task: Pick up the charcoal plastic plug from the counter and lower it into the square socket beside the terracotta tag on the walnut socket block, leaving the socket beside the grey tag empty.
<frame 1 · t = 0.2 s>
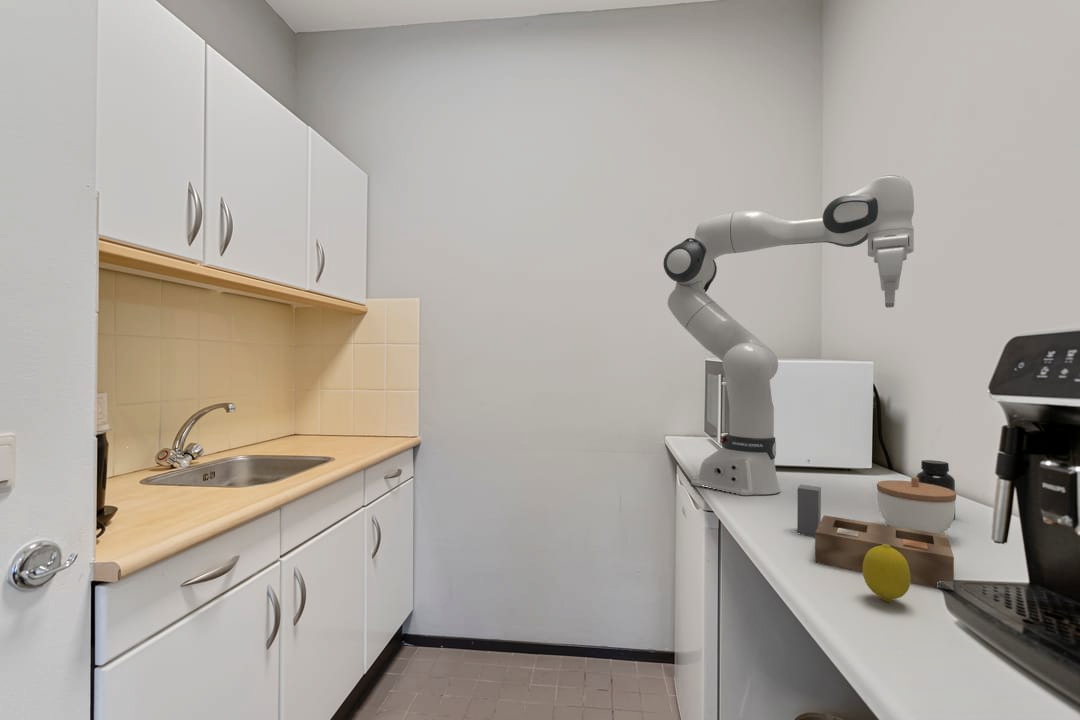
hand: (889, 305, 117), 48 cm above the worktop, tool pointing down, fingers open, 8 cm apart
lemon: (886, 602, 70), on the worktop
socket block: (880, 563, 83), on the worktop
supplement bottle: (935, 516, 111), on the worktop
plug: (809, 533, 99), on the worktop
lidded bowl: (914, 534, 99), on the worktop
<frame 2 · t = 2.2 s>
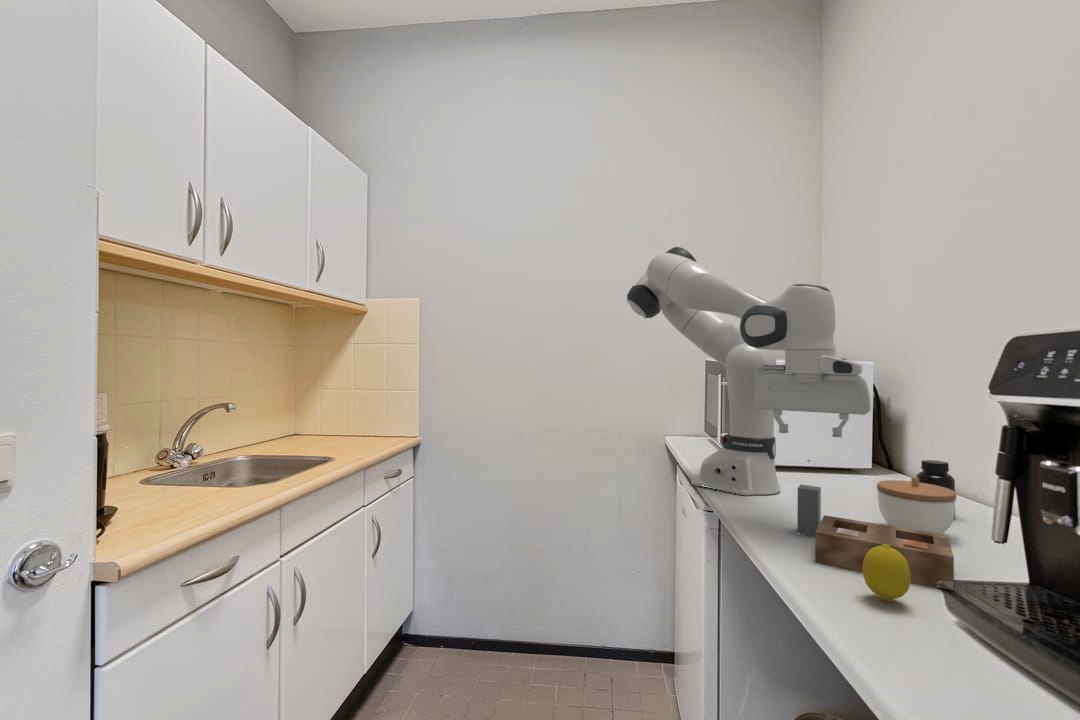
hand: (809, 434, 99), 19 cm above the worktop, tool pointing down, fingers open, 8 cm apart
nothing on the worktop moved.
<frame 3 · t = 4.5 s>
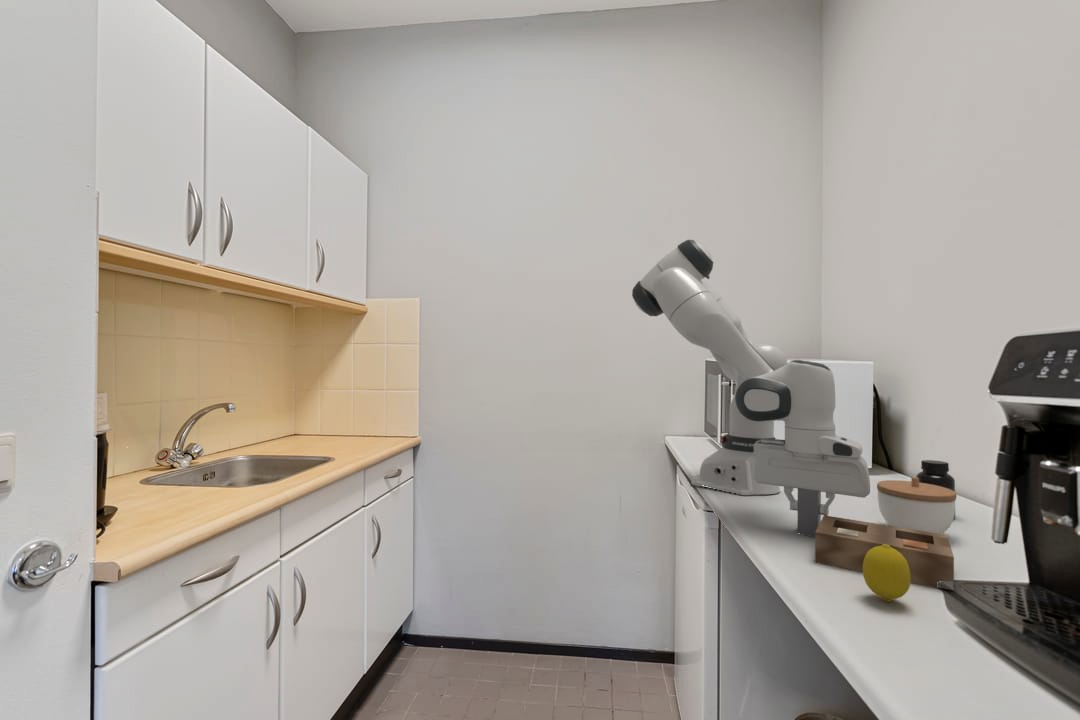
hand: (809, 512, 99), 4 cm above the worktop, tool pointing down, fingers closed on plug, 4 cm apart
plug: (809, 533, 99), on the worktop, touching gripper
everything else where it was.
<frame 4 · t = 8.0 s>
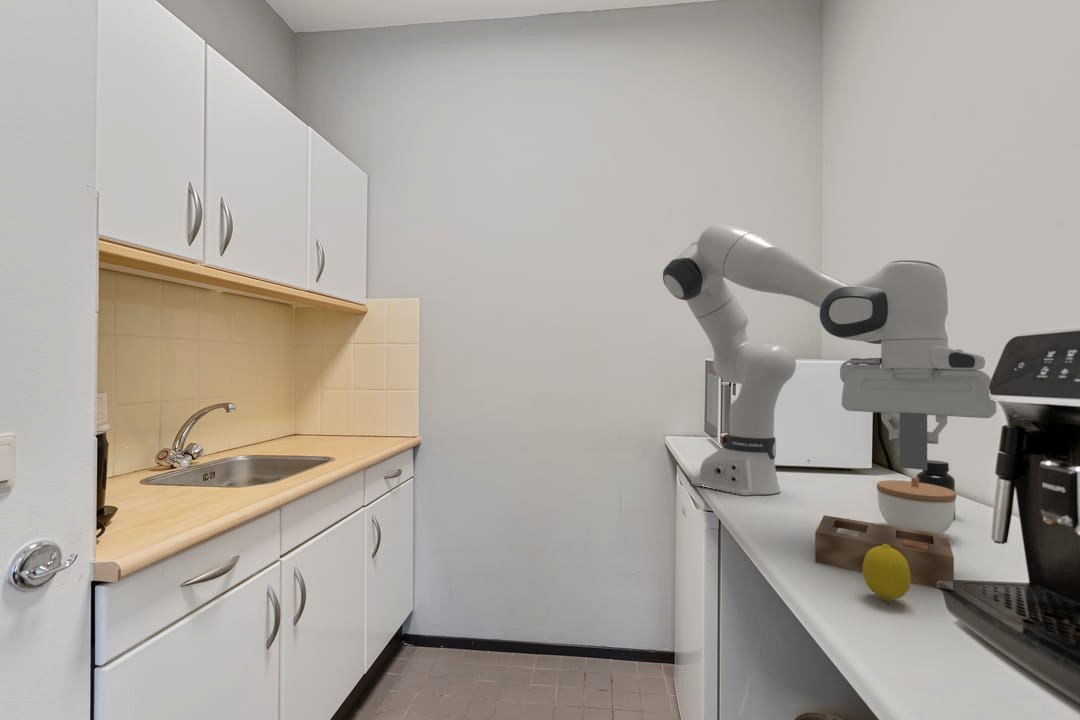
hand: (913, 441, 82), 21 cm above the worktop, tool pointing down, fingers closed on plug, 4 cm apart
plug: (913, 467, 82), point 16 cm above the worktop, touching gripper
everything else where it was.
when the fingers open (6 cm above the worktop, at t = 11.2 s): plug drops 2 cm, resting in socket block.
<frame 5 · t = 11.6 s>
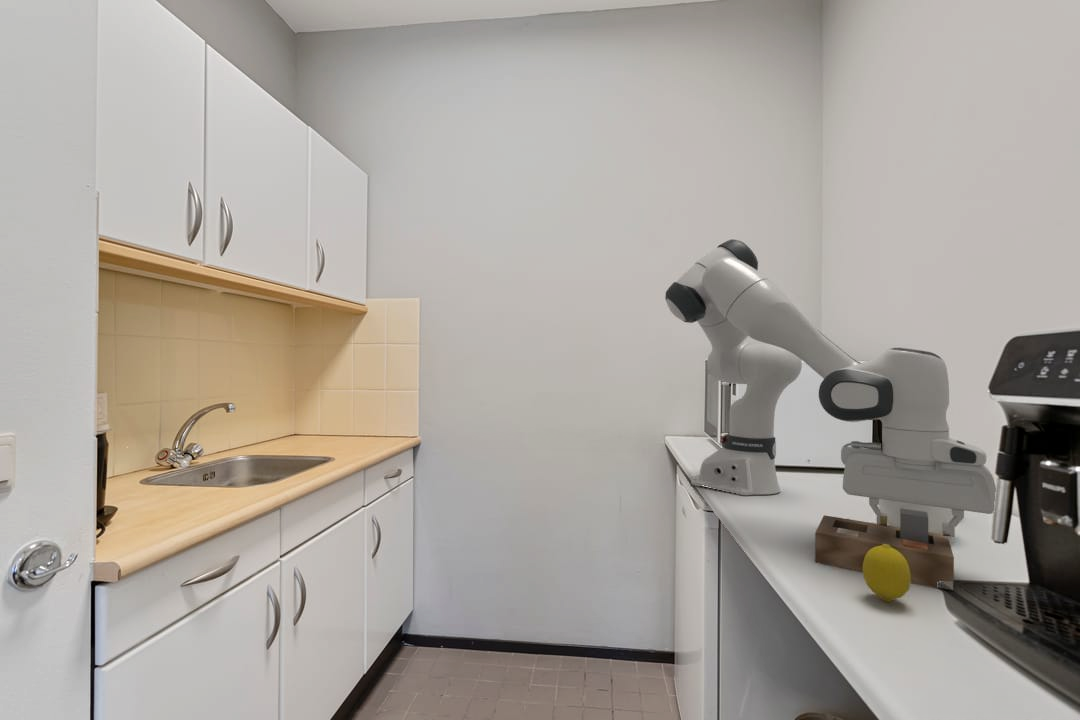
hand: (914, 530, 82), 6 cm above the worktop, tool pointing down, fingers open, 7 cm apart
plug: (913, 567, 82), resting in socket block
everything else where it was.
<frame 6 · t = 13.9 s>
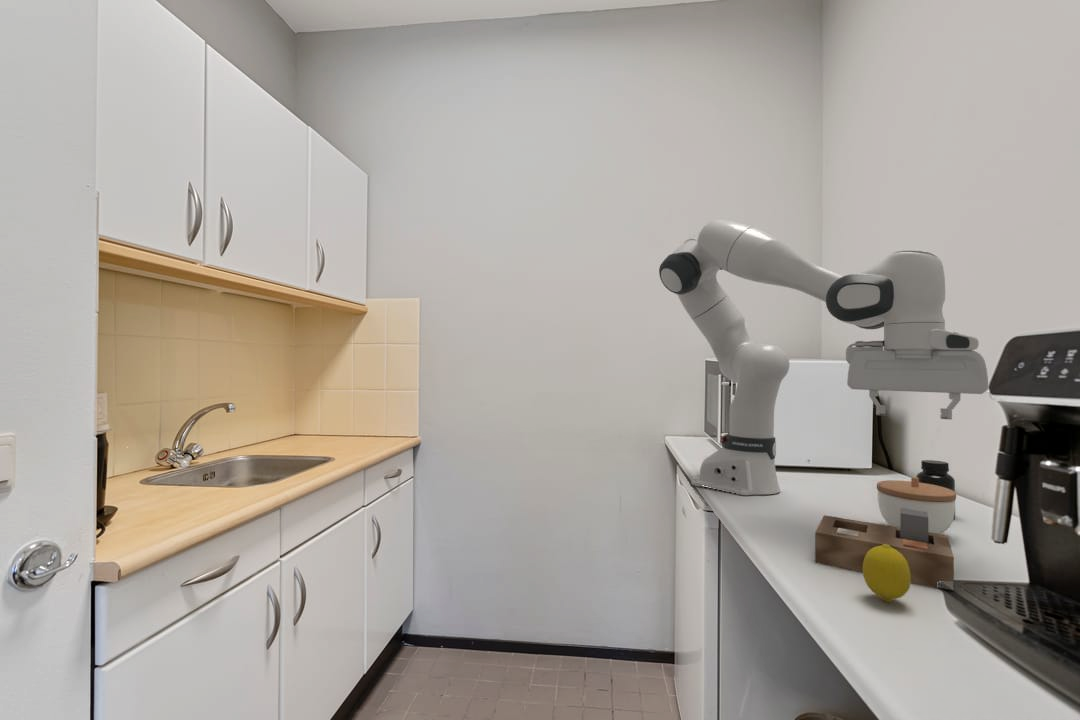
hand: (912, 417, 90), 24 cm above the worktop, tool pointing down, fingers open, 8 cm apart
nothing on the worktop moved.
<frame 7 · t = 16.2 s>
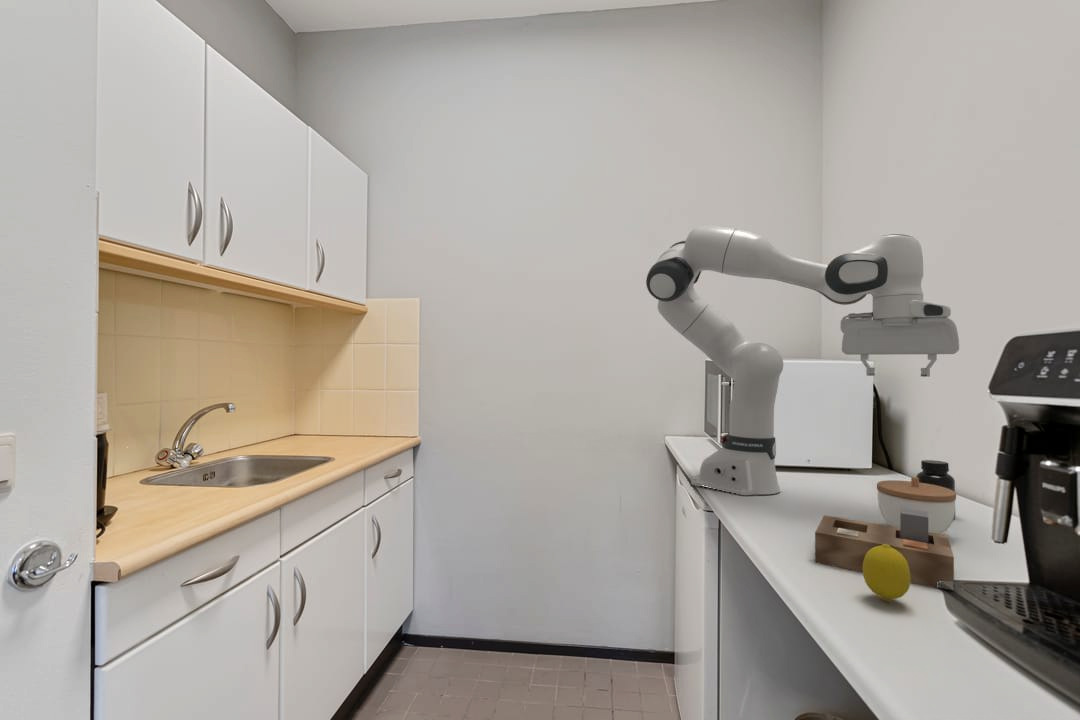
hand: (897, 376, 106), 31 cm above the worktop, tool pointing down, fingers open, 8 cm apart
nothing on the worktop moved.
at the end: plug 0.1 cm from the target spot on the socket block, point 0.0 cm above the socket block's base; plug tilted 0°; the gripper is holding nothing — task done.
